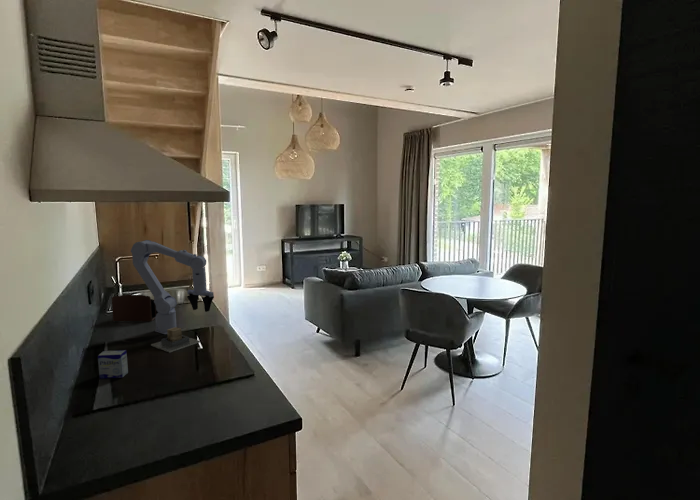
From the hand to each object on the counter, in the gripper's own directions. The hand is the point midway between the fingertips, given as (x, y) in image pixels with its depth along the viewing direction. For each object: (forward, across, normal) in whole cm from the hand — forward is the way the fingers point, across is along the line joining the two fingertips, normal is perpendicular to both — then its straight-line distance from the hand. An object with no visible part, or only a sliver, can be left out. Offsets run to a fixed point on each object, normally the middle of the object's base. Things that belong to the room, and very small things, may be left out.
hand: (201, 310), depth 187 cm
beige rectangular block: (+9, +4, -19) cm, 21 cm away
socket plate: (+9, +4, -19) cm, 21 cm away
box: (+10, +10, -50) cm, 52 cm away
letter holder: (+10, -46, 0) cm, 47 cm away
